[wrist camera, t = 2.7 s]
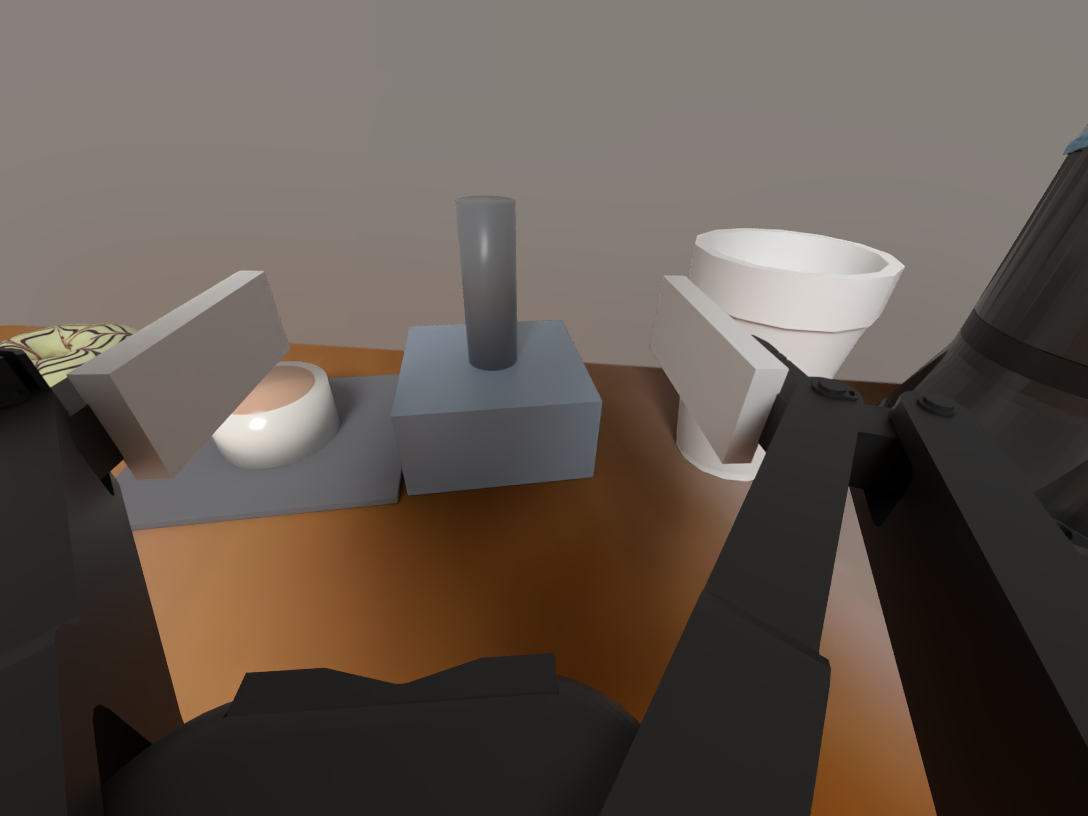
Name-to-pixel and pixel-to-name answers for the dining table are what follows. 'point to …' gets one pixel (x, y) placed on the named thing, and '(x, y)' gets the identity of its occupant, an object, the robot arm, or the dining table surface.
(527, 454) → the cover
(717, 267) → the foam cup
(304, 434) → the bowl
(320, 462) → the mat
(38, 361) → the decorated donut
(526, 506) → the dining table surface
